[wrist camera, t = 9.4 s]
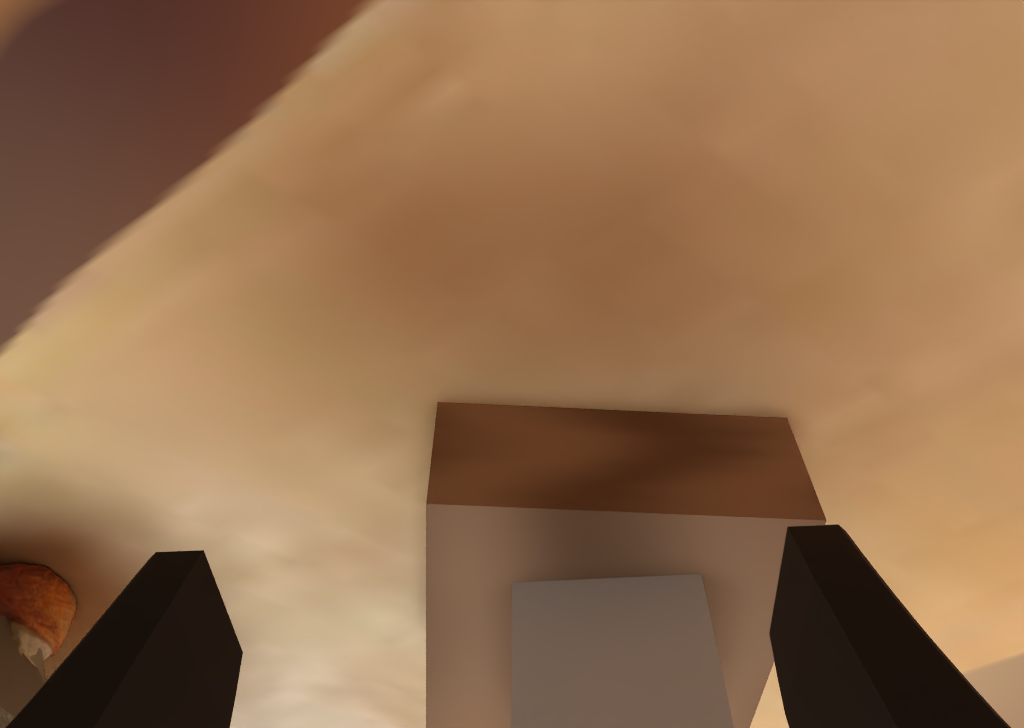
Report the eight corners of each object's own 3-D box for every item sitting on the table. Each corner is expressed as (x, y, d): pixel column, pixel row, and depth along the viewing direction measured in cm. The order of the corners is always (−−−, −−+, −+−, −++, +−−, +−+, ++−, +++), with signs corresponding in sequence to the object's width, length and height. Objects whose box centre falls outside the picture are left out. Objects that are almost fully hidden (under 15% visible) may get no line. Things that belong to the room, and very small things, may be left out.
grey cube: (701, 573, 21) (739, 751, 18) (693, 687, 24) (724, 862, 20) (512, 582, 22) (510, 760, 18) (524, 694, 24) (526, 868, 20)
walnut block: (783, 409, 23) (826, 520, 20) (717, 627, 29) (743, 744, 26) (438, 393, 23) (426, 504, 20) (436, 617, 28) (426, 733, 25)
